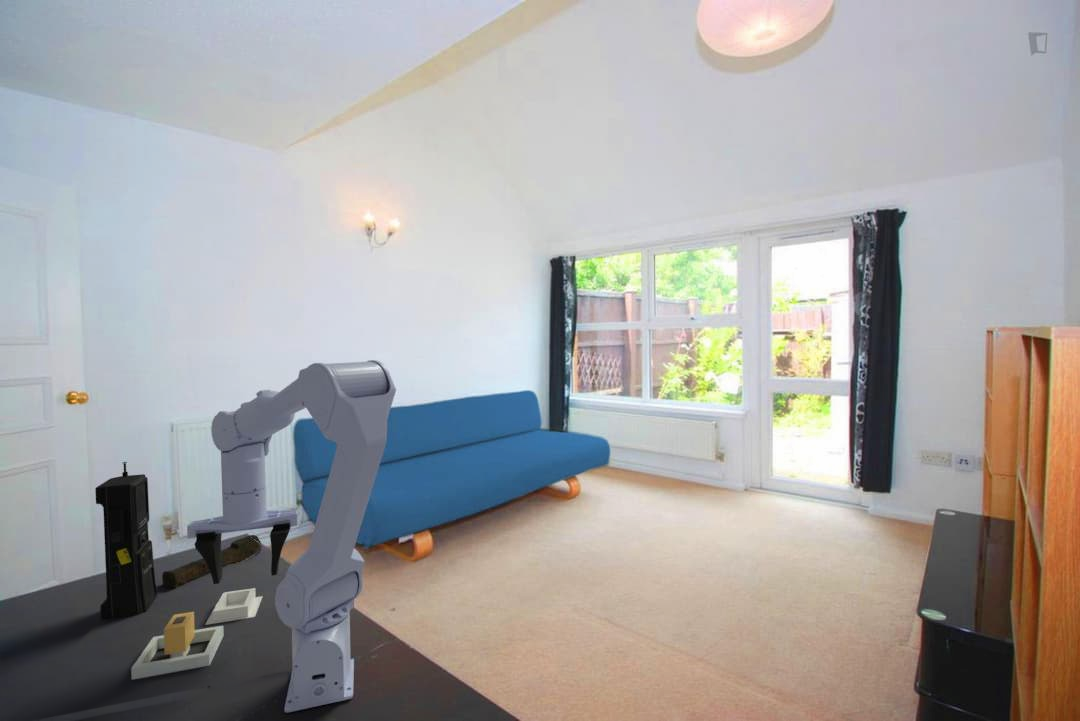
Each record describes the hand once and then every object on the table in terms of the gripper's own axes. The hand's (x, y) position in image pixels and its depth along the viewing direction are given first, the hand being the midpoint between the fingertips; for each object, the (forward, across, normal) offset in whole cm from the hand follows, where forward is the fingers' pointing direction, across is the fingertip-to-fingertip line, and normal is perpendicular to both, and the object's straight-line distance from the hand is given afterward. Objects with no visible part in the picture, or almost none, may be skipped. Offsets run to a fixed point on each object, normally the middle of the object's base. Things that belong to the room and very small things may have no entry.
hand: (246, 576), depth 78 cm
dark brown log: (+10, +11, -29) cm, 33 cm away
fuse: (+9, +8, +2) cm, 13 cm away
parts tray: (+10, +8, +2) cm, 13 cm away
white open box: (+10, +4, -9) cm, 14 cm away
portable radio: (+10, +20, -16) cm, 28 cm away
